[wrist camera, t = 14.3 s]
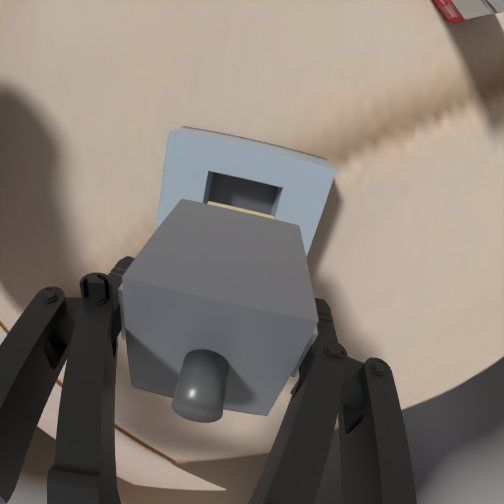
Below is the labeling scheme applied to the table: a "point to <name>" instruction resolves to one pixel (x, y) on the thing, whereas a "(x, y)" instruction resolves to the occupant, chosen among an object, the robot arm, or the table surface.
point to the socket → (245, 177)
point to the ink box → (468, 8)
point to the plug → (218, 310)
